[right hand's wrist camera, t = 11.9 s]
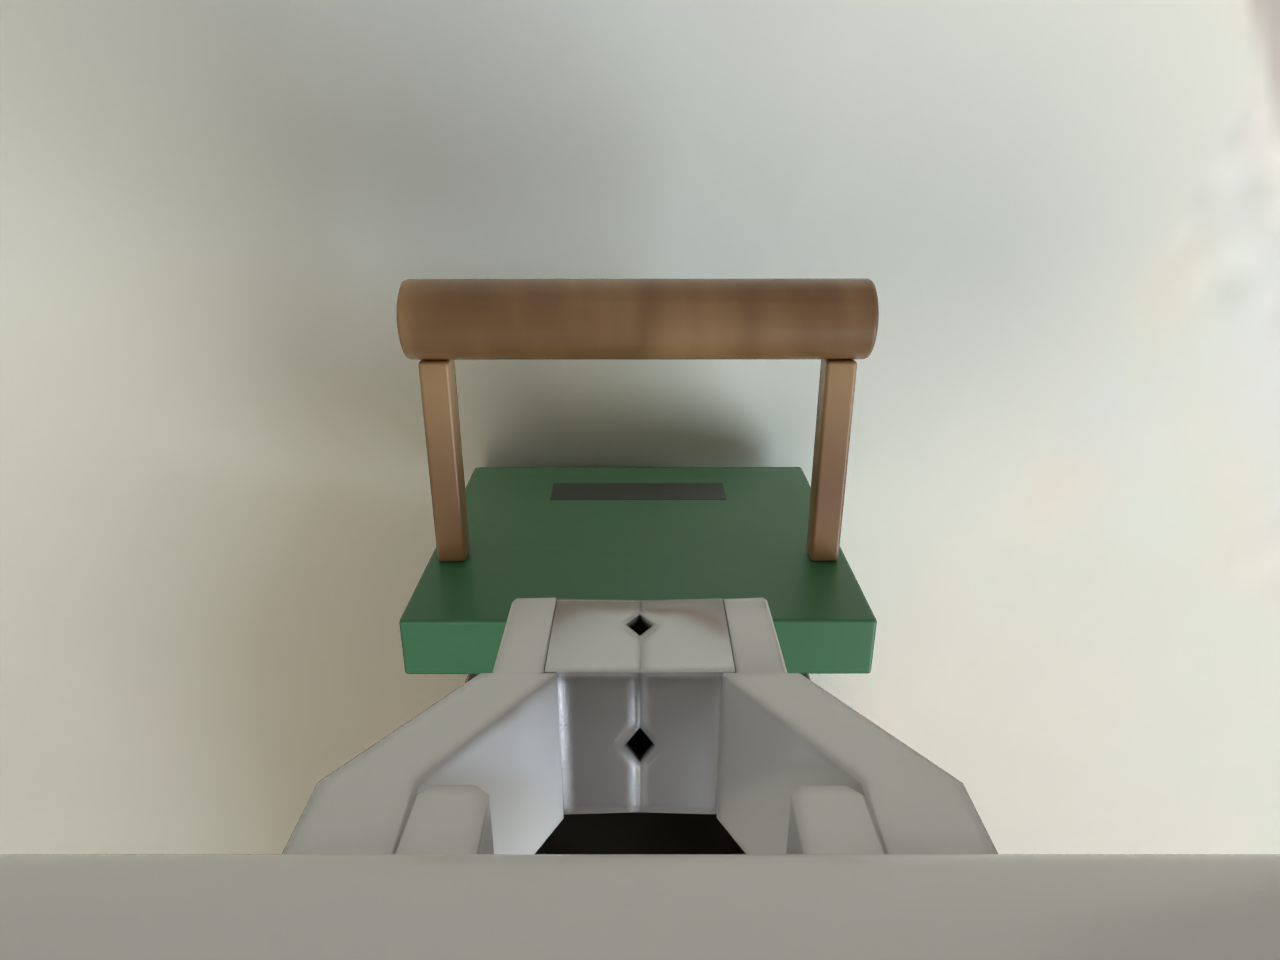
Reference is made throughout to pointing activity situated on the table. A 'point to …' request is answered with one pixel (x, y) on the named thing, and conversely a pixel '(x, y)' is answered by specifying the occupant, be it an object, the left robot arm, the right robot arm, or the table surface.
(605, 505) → the drawer
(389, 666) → the table surface
